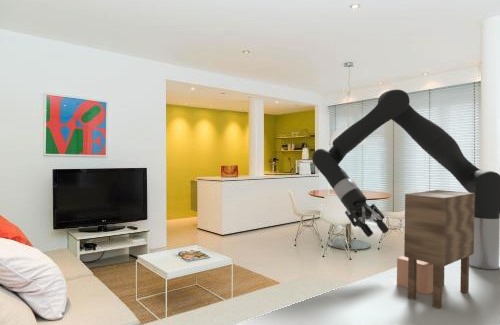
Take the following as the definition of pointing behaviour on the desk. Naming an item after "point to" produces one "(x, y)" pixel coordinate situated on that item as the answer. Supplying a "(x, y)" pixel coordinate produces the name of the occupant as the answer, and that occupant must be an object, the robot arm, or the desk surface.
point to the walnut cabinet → (438, 236)
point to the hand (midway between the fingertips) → (378, 233)
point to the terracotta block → (423, 275)
